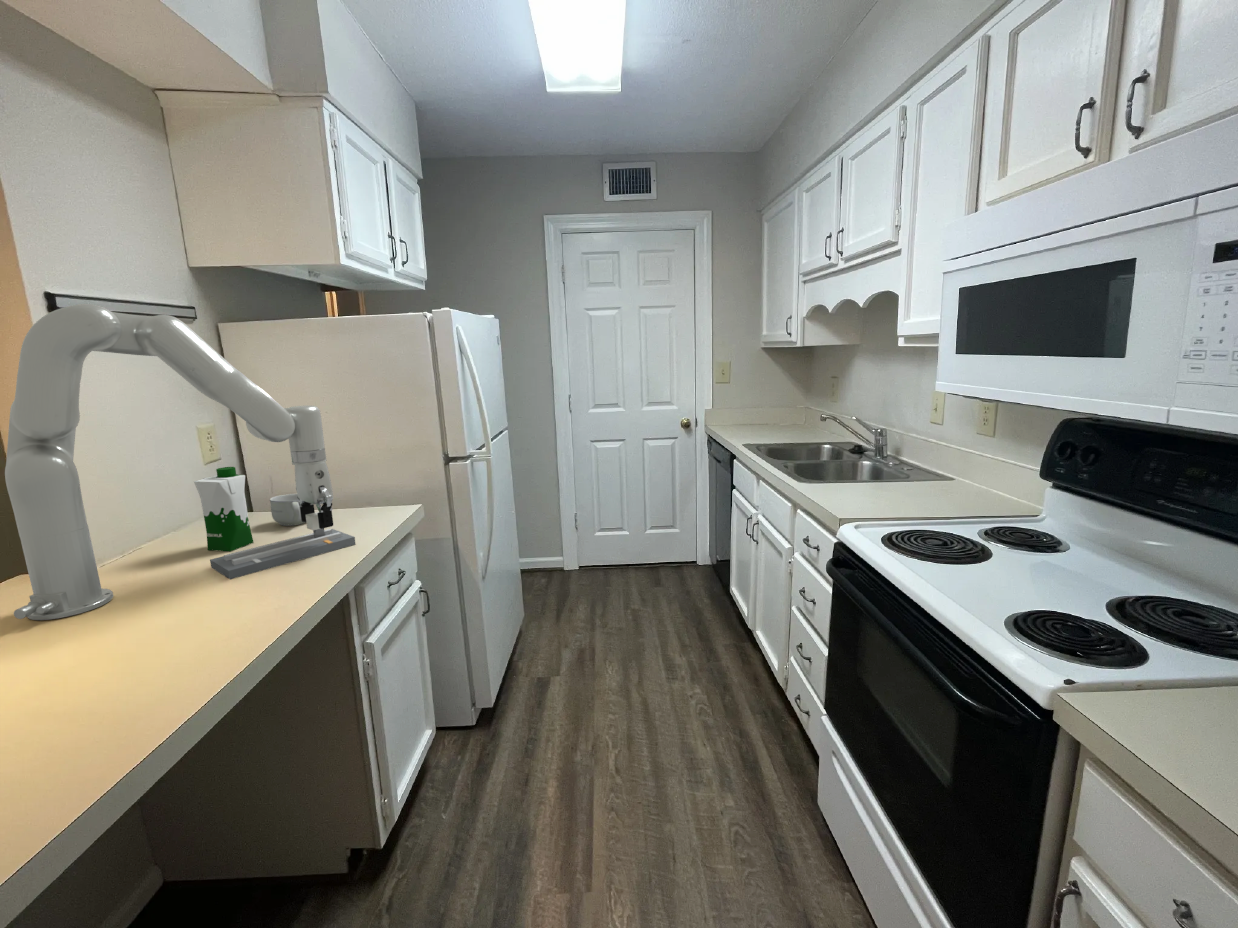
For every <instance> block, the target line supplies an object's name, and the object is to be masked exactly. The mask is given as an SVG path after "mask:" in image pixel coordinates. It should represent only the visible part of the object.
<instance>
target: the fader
mask: <svg viewBox="0 0 1238 928" xmlns="http://www.w3.org/2000/svg"><path fill="white" fill-rule="evenodd" d="M317 513H319V511H317V512H316V511H315V513H311V514H307V515H306V528H307V529H308V530H309V531H310V530H311V531H312V533H314V538H318V537H322V536H325V532H324V530H325V528H323V529H320V528H319V522H318V514H317Z"/></svg>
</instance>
